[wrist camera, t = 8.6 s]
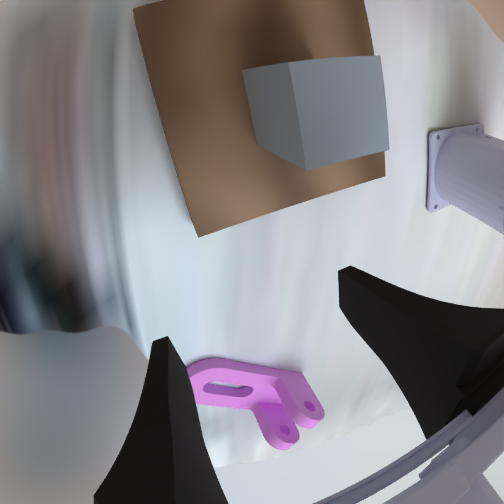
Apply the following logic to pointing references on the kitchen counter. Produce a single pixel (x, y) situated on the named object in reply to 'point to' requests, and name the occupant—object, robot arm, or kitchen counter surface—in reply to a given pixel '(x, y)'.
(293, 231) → the kitchen counter surface
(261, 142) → the slate block
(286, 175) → the walnut board
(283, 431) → the bracket
